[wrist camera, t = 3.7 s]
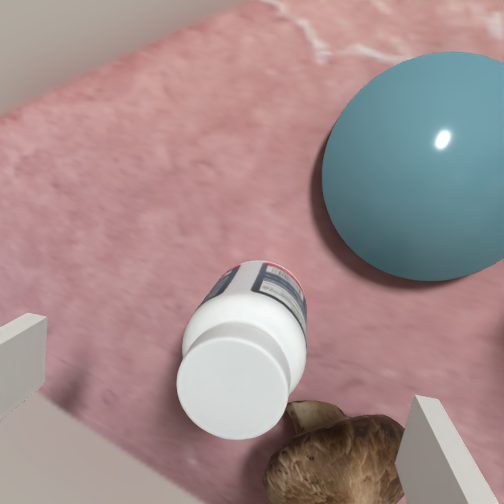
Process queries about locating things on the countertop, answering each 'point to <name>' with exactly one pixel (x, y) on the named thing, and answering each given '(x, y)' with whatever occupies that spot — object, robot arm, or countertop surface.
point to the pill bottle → (244, 351)
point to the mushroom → (335, 458)
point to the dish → (422, 168)
